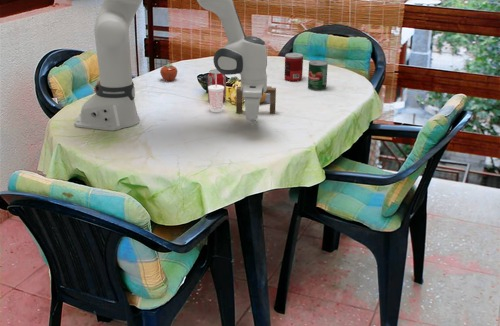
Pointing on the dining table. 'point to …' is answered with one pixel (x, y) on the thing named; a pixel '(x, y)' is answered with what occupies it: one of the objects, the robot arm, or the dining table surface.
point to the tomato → (168, 72)
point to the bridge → (269, 90)
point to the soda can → (220, 80)
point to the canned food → (293, 67)
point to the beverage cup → (216, 96)
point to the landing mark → (266, 100)
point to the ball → (263, 98)
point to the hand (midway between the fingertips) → (253, 123)
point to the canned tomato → (317, 75)
